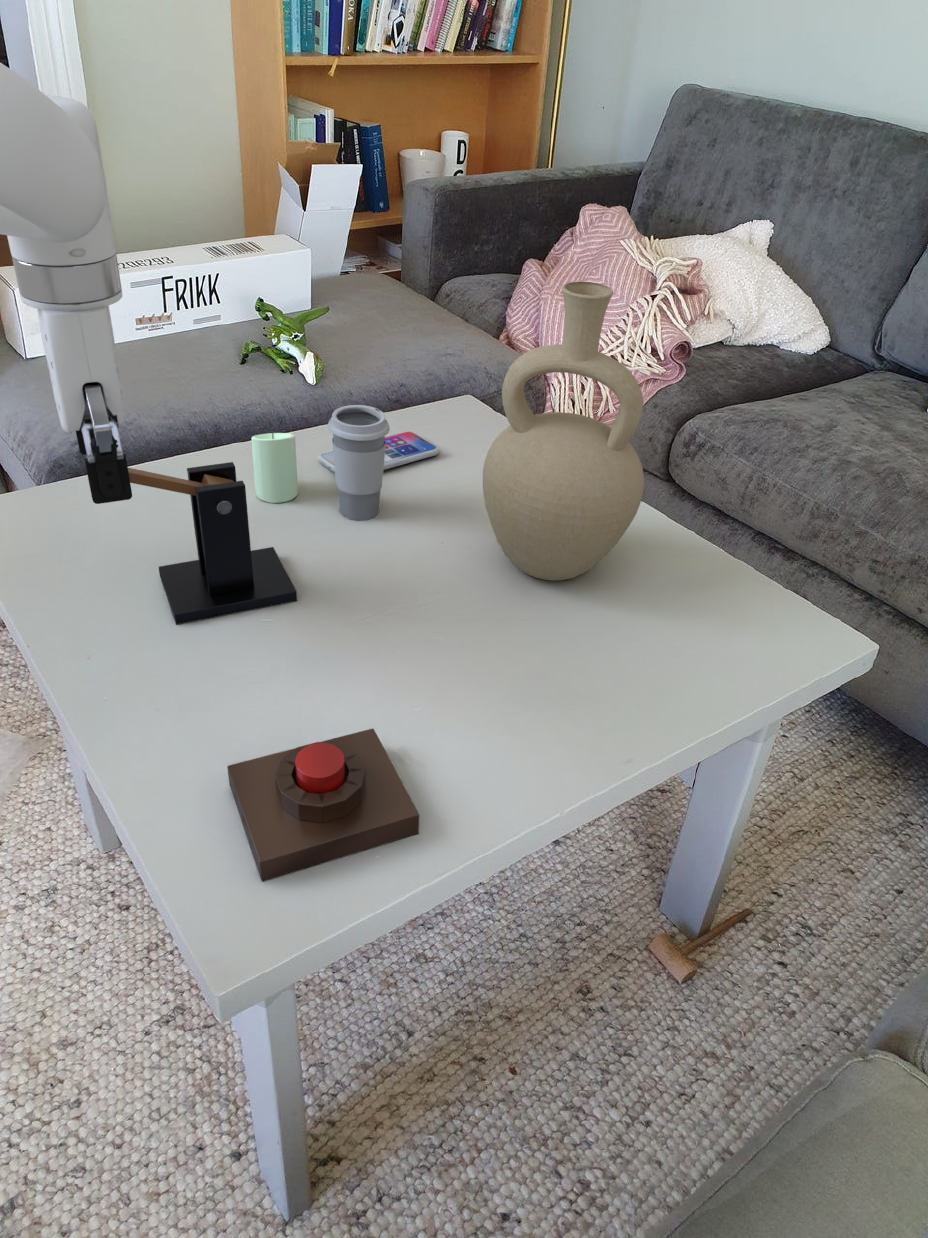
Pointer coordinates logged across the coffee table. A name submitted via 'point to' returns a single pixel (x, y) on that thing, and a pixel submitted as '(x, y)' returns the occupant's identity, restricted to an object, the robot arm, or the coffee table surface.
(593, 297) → the vase
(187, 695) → the coffee table surface
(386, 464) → the smartphone
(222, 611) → the bracket
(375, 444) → the cup
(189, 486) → the lever
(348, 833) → the button box
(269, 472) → the candle
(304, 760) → the button
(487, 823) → the coffee table surface
